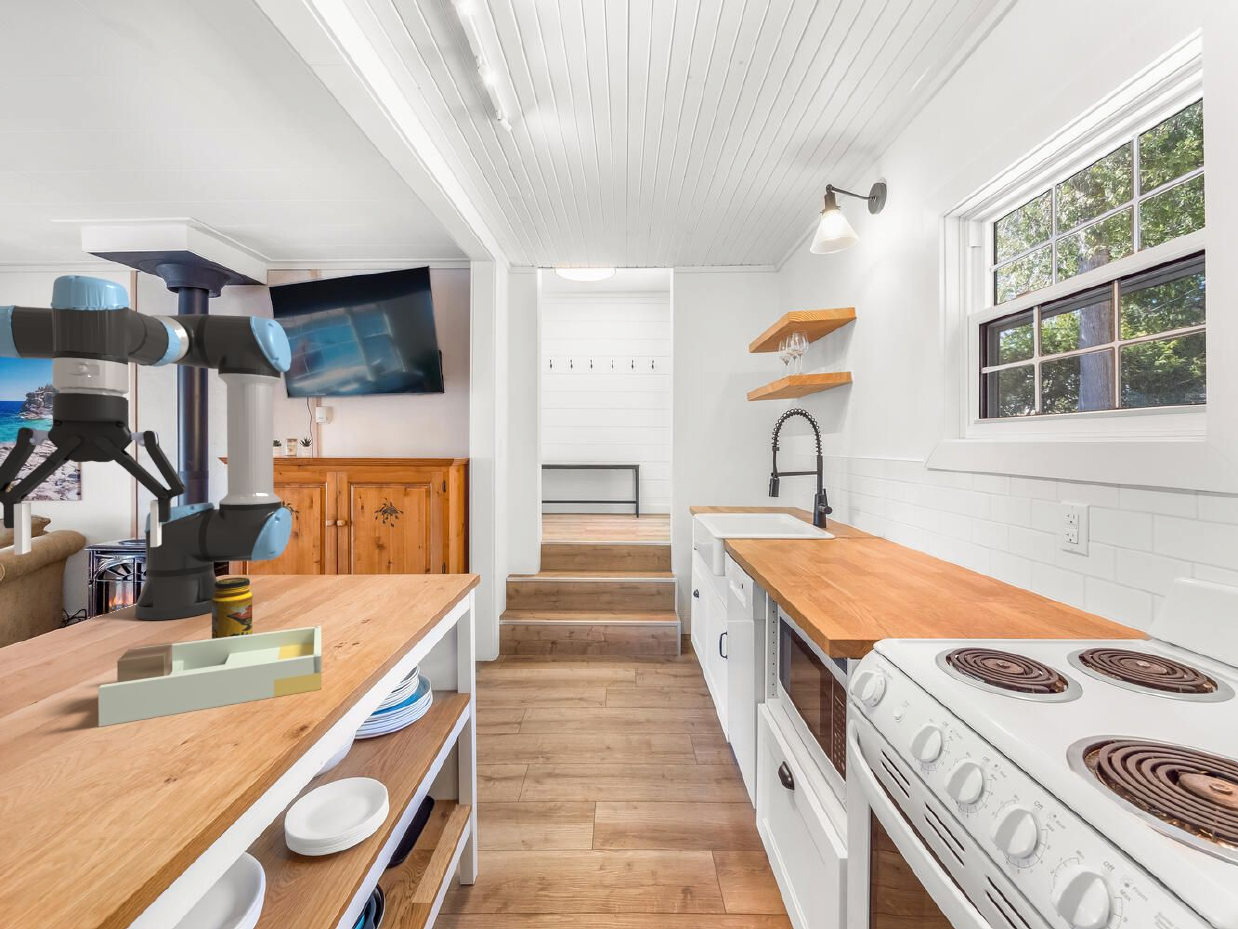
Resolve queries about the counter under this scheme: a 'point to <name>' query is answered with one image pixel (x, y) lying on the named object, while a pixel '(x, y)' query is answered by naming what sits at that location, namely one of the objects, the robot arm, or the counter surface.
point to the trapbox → (219, 675)
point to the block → (145, 663)
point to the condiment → (232, 608)
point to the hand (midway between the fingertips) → (92, 549)
